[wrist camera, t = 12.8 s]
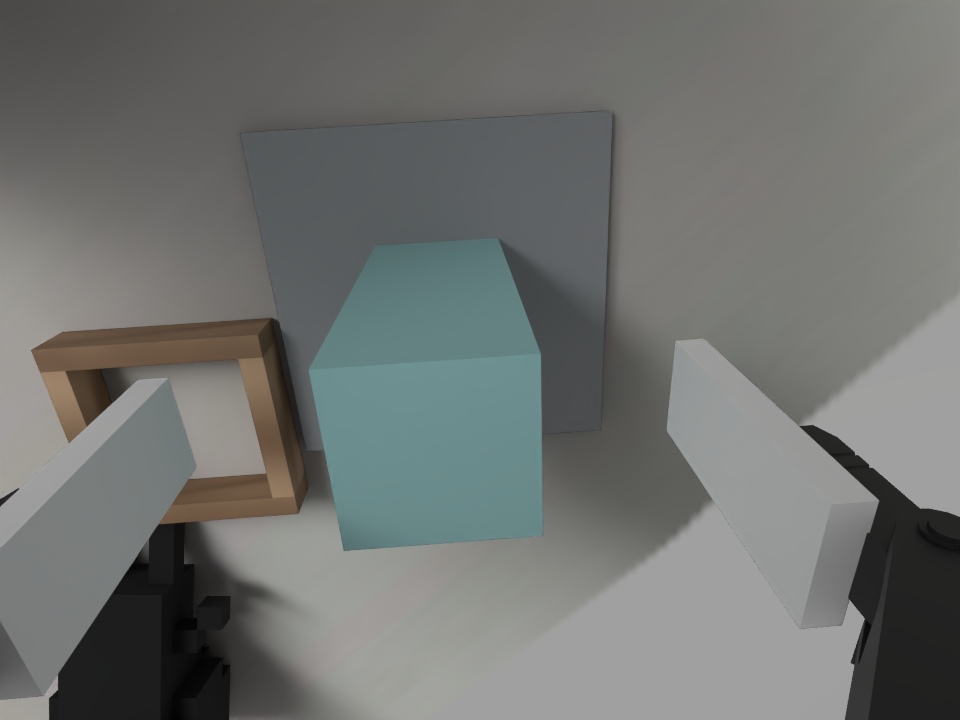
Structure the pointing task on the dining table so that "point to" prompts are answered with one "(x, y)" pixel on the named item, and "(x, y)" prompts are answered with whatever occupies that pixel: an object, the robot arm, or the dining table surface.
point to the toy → (149, 647)
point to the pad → (444, 230)
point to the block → (432, 400)
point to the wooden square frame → (253, 342)
